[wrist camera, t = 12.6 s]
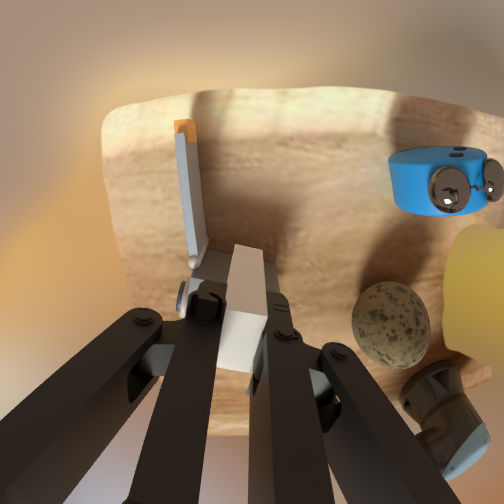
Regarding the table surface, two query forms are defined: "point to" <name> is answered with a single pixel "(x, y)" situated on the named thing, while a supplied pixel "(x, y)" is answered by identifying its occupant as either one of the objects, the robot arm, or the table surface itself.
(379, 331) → the decorative egg
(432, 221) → the table surface
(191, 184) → the side door
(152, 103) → the table surface
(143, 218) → the table surface
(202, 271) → the camera body
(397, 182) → the alarm clock
